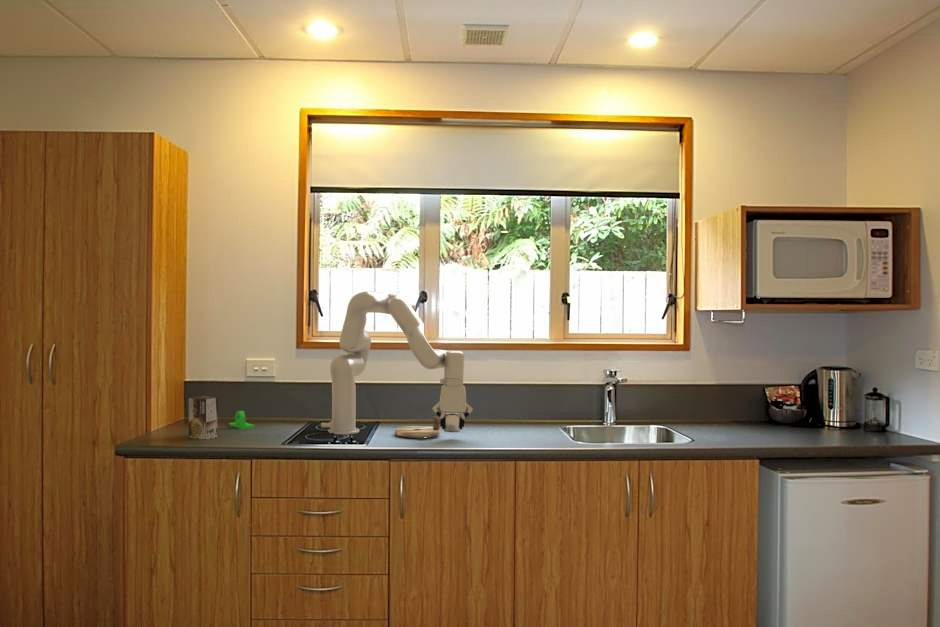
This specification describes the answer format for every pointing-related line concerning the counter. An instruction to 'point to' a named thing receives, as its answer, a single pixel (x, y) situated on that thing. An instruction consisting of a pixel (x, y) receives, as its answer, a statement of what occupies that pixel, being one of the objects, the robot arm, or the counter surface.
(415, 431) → the turntable
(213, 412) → the coffee box
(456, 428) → the silver rounded piece
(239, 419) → the mechanical part
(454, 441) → the counter surface
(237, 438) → the counter surface
